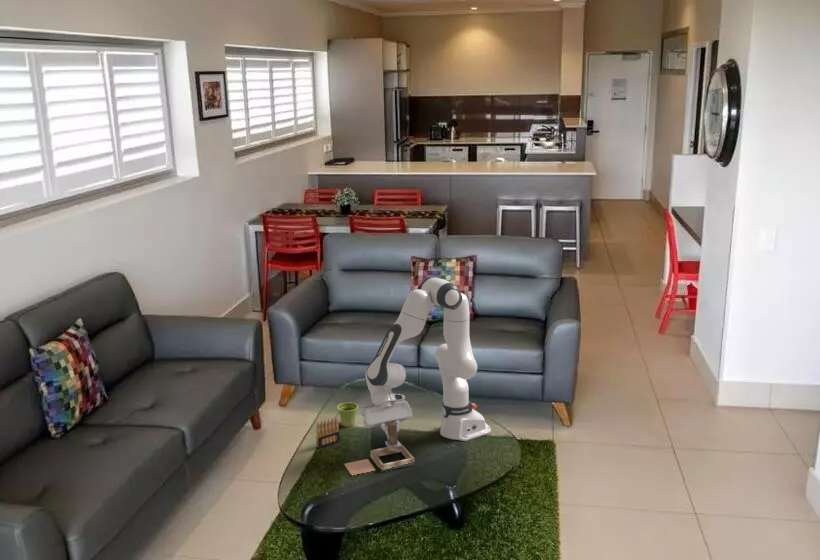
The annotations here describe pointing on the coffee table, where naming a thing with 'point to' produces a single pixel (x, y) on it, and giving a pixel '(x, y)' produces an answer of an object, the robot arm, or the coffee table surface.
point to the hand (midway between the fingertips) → (392, 433)
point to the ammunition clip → (327, 433)
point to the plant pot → (347, 413)
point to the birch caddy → (387, 451)
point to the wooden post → (392, 436)
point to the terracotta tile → (359, 467)
